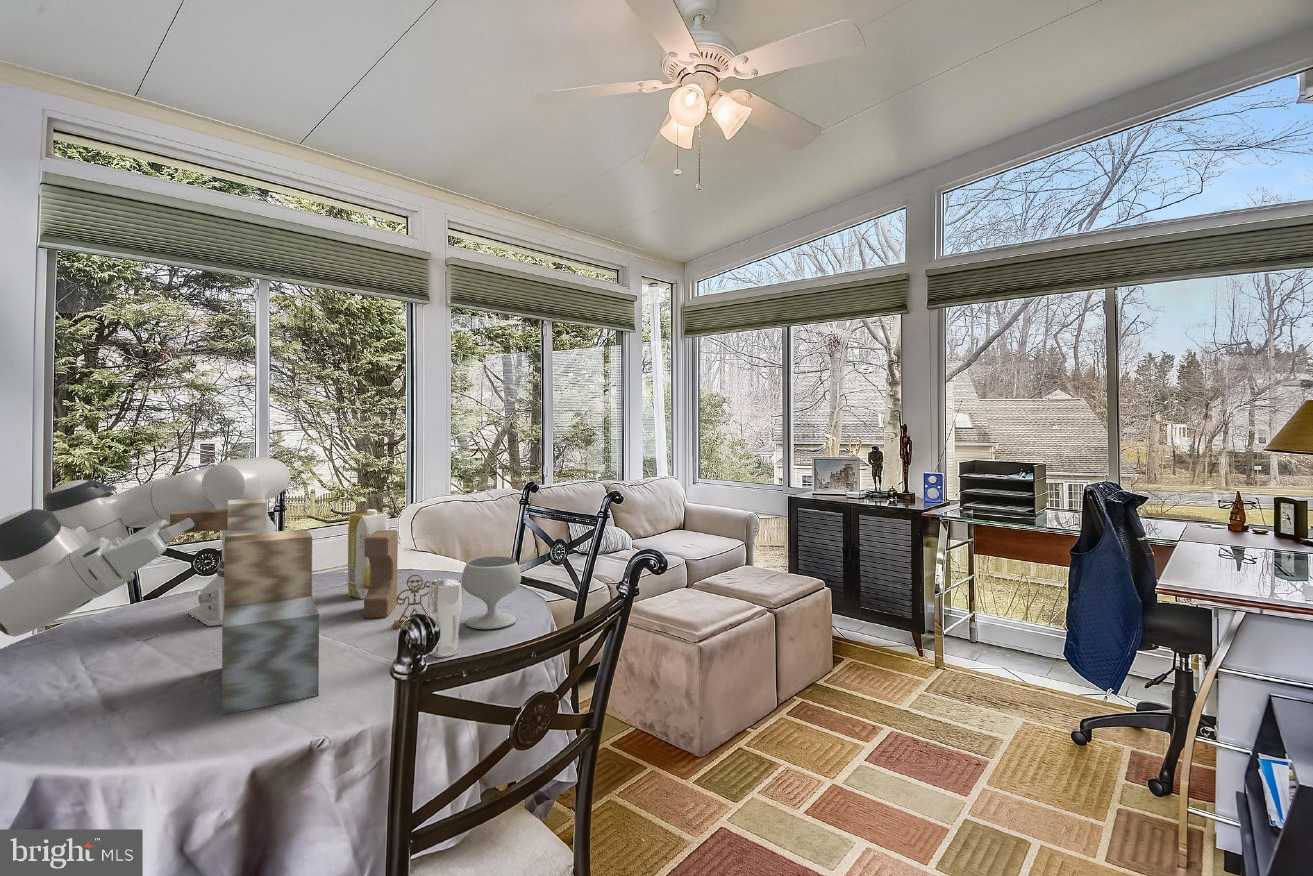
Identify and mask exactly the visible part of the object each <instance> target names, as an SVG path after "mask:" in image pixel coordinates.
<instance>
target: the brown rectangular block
mask: <svg viewBox="0 0 1313 876" xmlns="http://www.w3.org/2000/svg"><path fill="white" fill-rule="evenodd" d="M266 509H267V499H243V500H228V509H218V510H198V511H178V512H171V514H170V526H172V525H174V524H176V523H179V522H180V521H182V520H184V519H186V518H188V517H190V518H191V519H192V520H193V521H194V523H195V525H194V526H193V527H192V528H190V529H188V530H186V531H185V532H183V533H182V534H189V533H202V532H217V531H219V532H220V531H221V530H228V531H243V530H258V529H266ZM221 532H222V531H221Z"/></svg>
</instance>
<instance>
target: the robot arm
mask: <svg viewBox="0 0 1313 876" xmlns="http://www.w3.org/2000/svg"><path fill="white" fill-rule="evenodd" d="M290 482H291V471H290V469H289V468H288V466H287V465H286V464H285V463H284V462H283V461H281V460H280V459H276V458H273V457H272V458H271V457H268V456H257V457H255V456H254V457H246V458H235V459H228V460H225V461H222V462H220V463H217V464H216V465H214V466H211V467H206V468H200V469H195V470H191V471H187V472H183V473H178V474H175V475H172V476H166V477H162V478H159V479H155V480H151V481H148V482H144V483H141V484H139V485H137V486H134V487H131V488H129V489H128V490H127V489H126V490H125V491H123V492H120V493H114V491H116V490H117V489H118V488H117V486H115V485H108V484H106V483H104V482H101V481H99V480H94V479H78V480H70V481H67V482H66V481H65V482H63V483H62V484H60V485H58V486H56V487H54V488H53V489H52V490H49V491H48V492H47V493H46V494H45V495H44V497H43V503H44V508H45V509H41V508H40V509H39V508H31V509H26V510H21V511H18V512H14V513H11V514H10V515H7V516H5V517H3V518H1V519H0V568H1V569H3V571H4V572H5V573H6V574H7V575H8V576H9V577H10V578H11V579H12V580H13V581H12V582H11V583H9V584H6V585H5V586H4V587H2V588H1V589H0V632H2V633H3V634H4V635H6V636H10V637H19V636H22V635H25V634H27V633H29V632H32V631H34V630H37V629H39V628H42V627H44V626H46V625H49V624H51V623H53V622H54V621H57V620H59V619H61V618H63V617H65V616H68V615H70V613H72V612H75V610H77V609H80V608H82V607H83V606H85V605H86V604H87V605H88V604H89V603H90V602H91V601H93V600H94V599H96V598H100V597H102V596H104V595H106V594H107V593H110V592H112V591H113V590H115V589H117V588H120V587H121V586H123V585H124V584H126V583H129V582H130V581H132V580H134V579H135V572H136V571H138V570H139V569H142V568H143V567H144V566H146V565H147V564H149V563H150V562H152V561H154V560H155V559H157V558H159V556H161V555H162V554H164V553H165V552H166V551H167V548H168V547H169V545H170V543H171V541H173V540H174V539H176V538H177V537H179V536H180V535H181V534H184V533H183V532H185V531H186V530H188V529H190V528H192V527H193V526H194V525H195V523H194V521H193V520H192V519H191V518H190V517H188V518H186V519H184V520H182V521H180V522H179V523H176V524H174V525H172V526H170V514H171V512H178V511H198V510H218V509H228V500H243V499H266V500H269V499H272V498H274V497H275V498H276V496H278V495H279V494H281V493H282V492H284V491H285V490H286V489H287V487H288V486H289V485H290ZM127 527H128V528H142V529H140V530H139V531H137V532H135V533H133V534H131V535H129V531H128V530H127ZM276 529H277V528H276V525H275V523H274V522H273V521H272V519H271V517H270V516H269V512H268V510H267V508H266V529H258V530H243V531H228V530H221V560H219V561H216V563H217V565H216V567H217V570H216V571H217V573H216V575H217V576H215V577H214V578H213V579H212V580H211V581H210V582H209V583H208V584H206V585H205V586H204V587H203V588H202V589H201V590H200V594H198V598H197V600H198V603H199V605H198V606H196V607H193V608H191V609H189V610H188V611H187V614H188V613H189V615H188V616H190V615H191V616H190V617H192V616H193V617H195V618H196V619H195V618H194V619H195V620H197V619H198V620H200V621H201V622H200V621H199V622H200V623H202V622H203V623H204V625H205V624H206V625H205V626H208V627H211V626H222V625H223V614H224V543H225V535H231V534H246V533H260V532H275V531H276ZM193 617H192V618H193ZM198 620H197V621H198ZM203 623H202V624H203Z"/></svg>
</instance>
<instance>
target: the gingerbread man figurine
mask: <svg viewBox="0 0 1313 876" xmlns="http://www.w3.org/2000/svg"><path fill="white" fill-rule="evenodd" d="M413 577H418V578H420V580H419V579H416V580H414V579H411V578H413ZM410 579H411V580H410ZM420 582H421V583H420ZM430 582H431V581H430V580H427V581H425V582H424V580H423V577H422V576H421V575H419V574H411V575H410V576H409V577H408V578H407V580H406V586H407V588H408V589H407V588H406V589H403V590H402V591H401V592H399V593H398V594H397V605H399V606H402V605H404V604H405V603H406V599H407V606H406V607H405V609H404V611H403V612H402V615H401V616H400V617H399V619H394V620H393V628H395V629H394V630H399V628H401V625H402V623H403V622H404V621H405V620H406V619H408V617H410V616H411V615H413V614H414V612H415V613H416V614H417V613H418V614H419V612H418V611H417V609H416V607H414V608H413V610H412V611H411V613H410V614H409V616H407V615H406V612H407V610H408V608H409V607H410V606H421V608H422V610H423V611H424V613H426V614H427V615H429V613H428V612H427V611H426V609H425V608H424V606H423V605H422V597H425V596H427V595H429V590H428V591H427V592H426V593H423V594H420V595H419V602H416V601H417V599H416V596H417V594H419V591H420V590H421V591H422V590H424V589H425V588H427V589H429V587H430V585H428V583H429V584H430ZM414 583H416V584H417V585H412V584H414ZM404 592H410V594H413V596H412V597H413V600H412V601H413V602H411V603H410V596H409V595H407V596H405V597H404V598H402V597H400V596H401V595H402V594H403V593H404ZM399 601H402V602H399ZM426 614H425V615H426ZM427 615H426V616H427ZM411 617H412V616H411ZM411 617H410V618H411ZM402 618H403V619H402ZM401 629H402V628H401Z"/></svg>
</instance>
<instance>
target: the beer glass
mask: <svg viewBox="0 0 1313 876" xmlns="http://www.w3.org/2000/svg"><path fill="white" fill-rule="evenodd" d="M429 586H430V587H429V588H428V591H429V594H428V600H427V601H428V603H427V604H428V607H427V609H428V615H429V617H431V618H433V619H435V620H436V622H438V624H439V626H440V628H441V630H442V635H441V636H440V642H439V643H438V645H437V647H436V649H435V651H433V653H431V654H430V653H429V654H430V656H431V655H432V656H431V657H433V658H436V657H435V656H441V657H444V655H446V654H453V653H458V652H459V651H460V652H461V646H460V645H461V644H460V639H459V637H460V636H459V635H460V633H459V631H460V626H461V625H460V624H461V621H462V614H463V610H464V609H463V608H464V590H463V589H464V588H463V585H462V579H459V578H454V577H453V578H452V577H450V578H438V579H434V580H432V581H431V582H430V583H429ZM460 652H459V653H460ZM459 653H458V654H459ZM444 658H445V657H444Z"/></svg>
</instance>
